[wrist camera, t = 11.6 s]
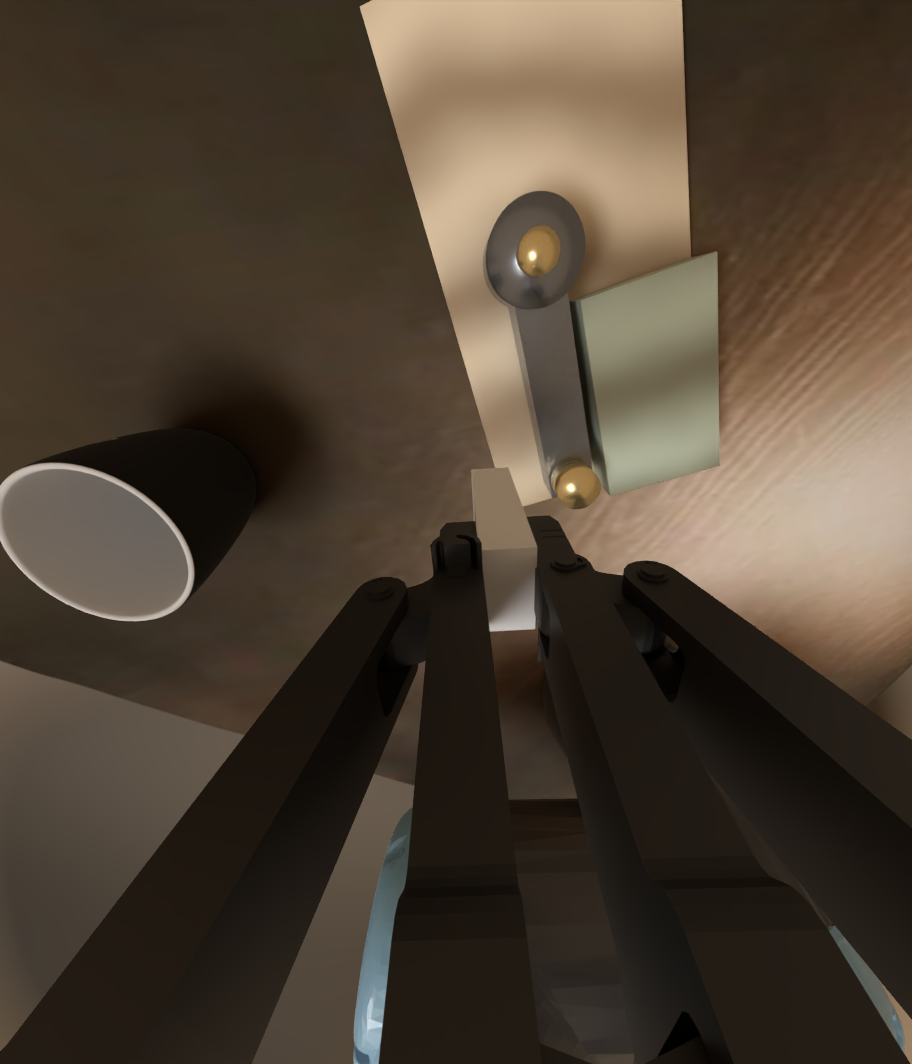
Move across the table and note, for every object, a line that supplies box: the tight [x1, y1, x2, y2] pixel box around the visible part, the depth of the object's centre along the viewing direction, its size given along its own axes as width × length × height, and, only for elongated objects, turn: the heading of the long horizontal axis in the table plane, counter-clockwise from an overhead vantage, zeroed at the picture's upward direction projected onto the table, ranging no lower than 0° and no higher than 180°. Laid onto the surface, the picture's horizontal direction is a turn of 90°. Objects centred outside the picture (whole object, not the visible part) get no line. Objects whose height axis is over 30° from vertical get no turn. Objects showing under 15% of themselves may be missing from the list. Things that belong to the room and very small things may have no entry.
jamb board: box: [360, 0, 720, 506], centre depth 21 cm, size 25×13×4 cm, turn 18°
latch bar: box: [483, 191, 601, 509], centre depth 21 cm, size 15×4×5 cm, turn 16°
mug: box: [0, 428, 257, 621], centre depth 24 cm, size 12×9×10 cm
